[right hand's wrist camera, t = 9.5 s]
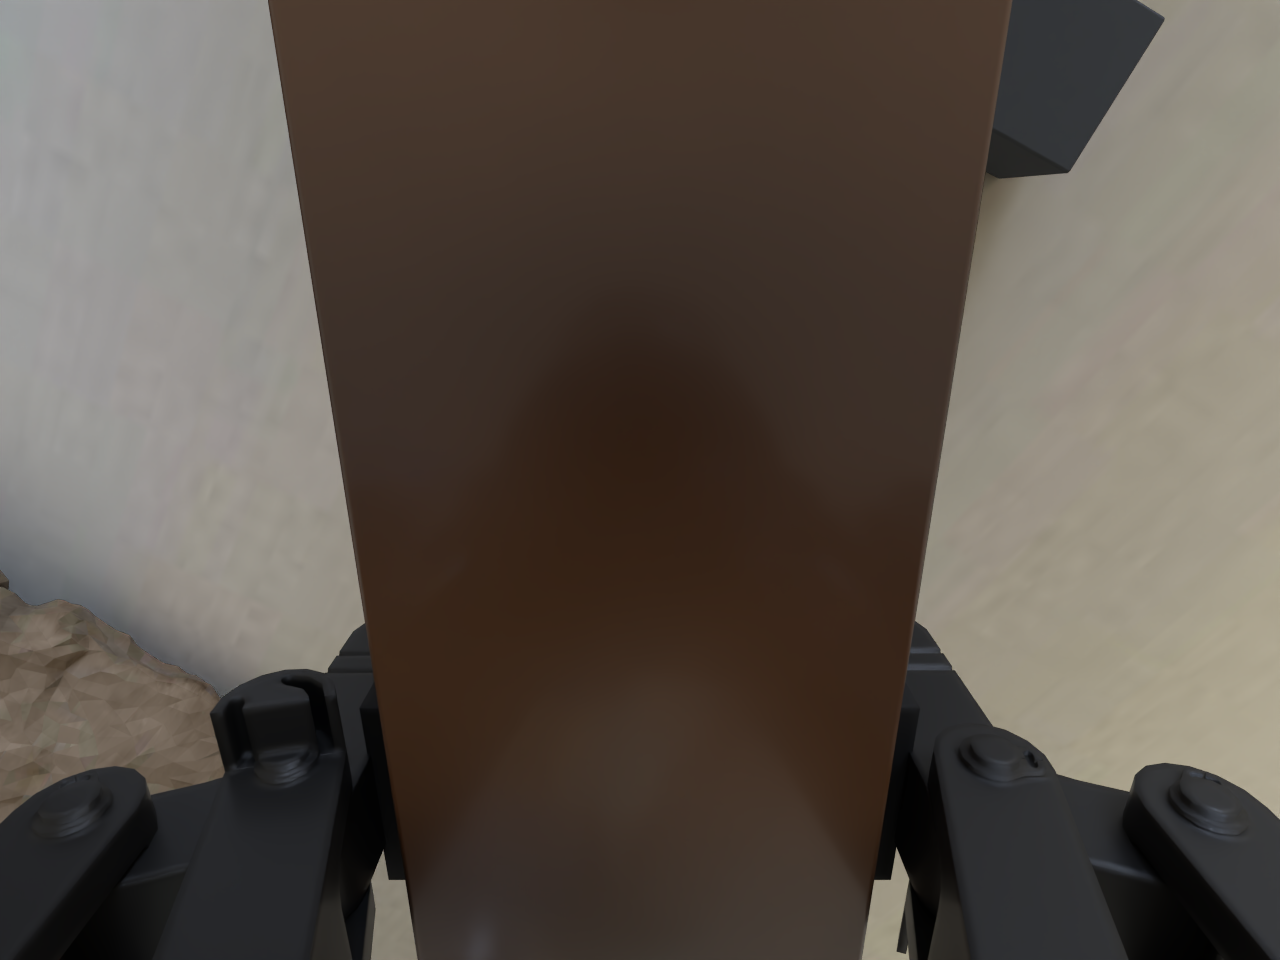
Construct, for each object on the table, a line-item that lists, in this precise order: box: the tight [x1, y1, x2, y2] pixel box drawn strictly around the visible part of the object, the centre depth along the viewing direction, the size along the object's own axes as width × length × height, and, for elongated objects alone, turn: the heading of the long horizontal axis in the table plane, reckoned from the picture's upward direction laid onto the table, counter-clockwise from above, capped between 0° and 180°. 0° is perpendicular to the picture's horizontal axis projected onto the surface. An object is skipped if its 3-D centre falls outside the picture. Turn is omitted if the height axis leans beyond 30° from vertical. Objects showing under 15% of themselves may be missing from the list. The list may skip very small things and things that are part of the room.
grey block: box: [986, 0, 1165, 178], centre depth 20 cm, size 4×4×4 cm
